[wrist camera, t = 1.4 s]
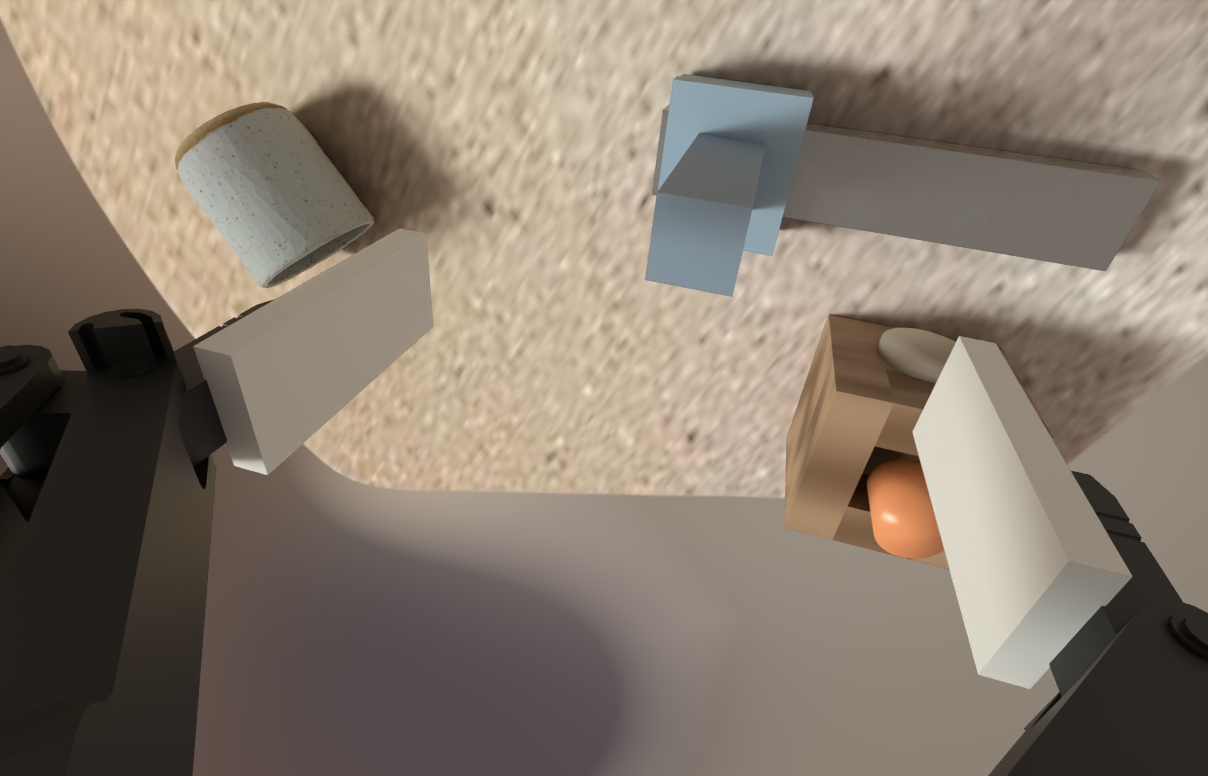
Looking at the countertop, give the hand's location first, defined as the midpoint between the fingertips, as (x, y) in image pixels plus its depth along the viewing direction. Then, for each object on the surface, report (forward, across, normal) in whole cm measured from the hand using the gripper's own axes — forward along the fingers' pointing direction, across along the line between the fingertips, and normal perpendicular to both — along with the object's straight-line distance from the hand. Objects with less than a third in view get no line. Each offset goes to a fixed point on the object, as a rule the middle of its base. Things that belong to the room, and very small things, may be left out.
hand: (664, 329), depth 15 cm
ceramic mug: (+20, -26, -6) cm, 33 cm away
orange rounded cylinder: (+12, +12, -12) cm, 20 cm away
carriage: (+19, 0, 0) cm, 19 cm away
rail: (+19, +7, 0) cm, 20 cm away
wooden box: (+19, +12, -12) cm, 25 cm away
